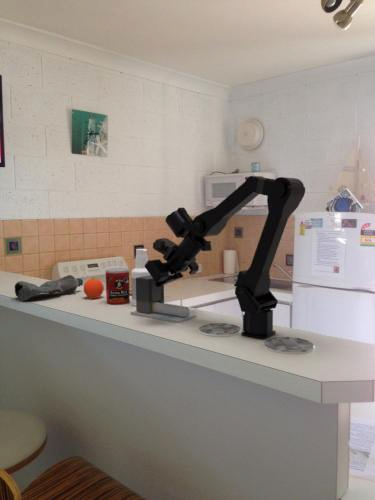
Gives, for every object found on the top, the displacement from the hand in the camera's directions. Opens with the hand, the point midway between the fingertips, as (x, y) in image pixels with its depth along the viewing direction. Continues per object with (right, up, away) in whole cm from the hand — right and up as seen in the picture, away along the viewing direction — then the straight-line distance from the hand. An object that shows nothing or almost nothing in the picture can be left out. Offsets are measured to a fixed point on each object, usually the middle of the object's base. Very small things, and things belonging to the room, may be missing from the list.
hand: (157, 285), depth 135 cm
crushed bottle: (-40, -6, +31) cm, 51 cm away
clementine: (-23, -6, +26) cm, 36 cm away
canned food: (-14, -7, +19) cm, 24 cm away
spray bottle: (-6, -7, +15) cm, 18 cm away
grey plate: (+2, -9, 0) cm, 9 cm away
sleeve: (-2, -8, +2) cm, 9 cm away
